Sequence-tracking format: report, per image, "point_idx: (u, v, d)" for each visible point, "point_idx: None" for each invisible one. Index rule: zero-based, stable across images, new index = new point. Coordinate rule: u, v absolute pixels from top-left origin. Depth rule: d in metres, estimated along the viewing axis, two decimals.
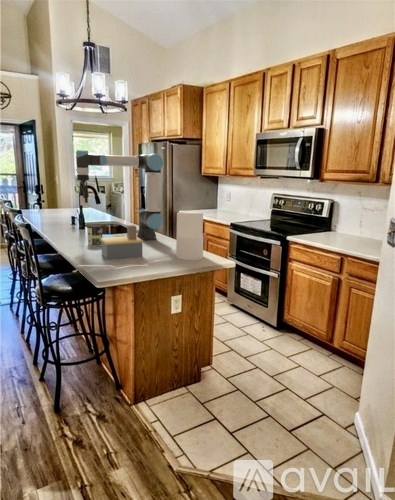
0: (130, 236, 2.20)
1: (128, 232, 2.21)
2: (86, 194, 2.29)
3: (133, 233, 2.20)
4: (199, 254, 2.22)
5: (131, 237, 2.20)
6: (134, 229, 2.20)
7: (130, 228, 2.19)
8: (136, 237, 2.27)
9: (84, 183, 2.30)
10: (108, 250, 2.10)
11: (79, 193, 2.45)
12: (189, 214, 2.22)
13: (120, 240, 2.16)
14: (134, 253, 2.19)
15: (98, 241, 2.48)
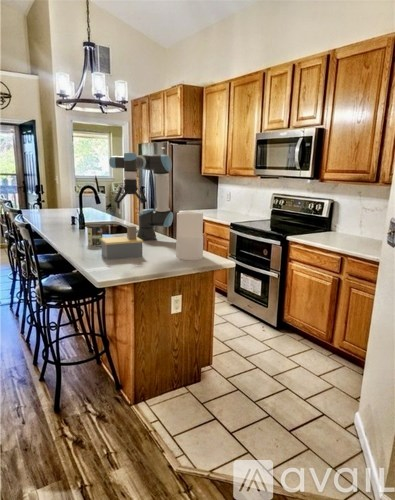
0: (130, 236, 2.20)
1: (128, 232, 2.21)
2: None
3: (133, 233, 2.20)
4: (199, 254, 2.22)
5: (131, 237, 2.20)
6: (134, 229, 2.20)
7: (130, 228, 2.19)
8: (136, 237, 2.27)
9: (119, 188, 2.13)
10: (108, 250, 2.10)
11: None
12: (189, 214, 2.22)
13: (120, 240, 2.16)
14: (134, 253, 2.19)
15: (98, 241, 2.48)
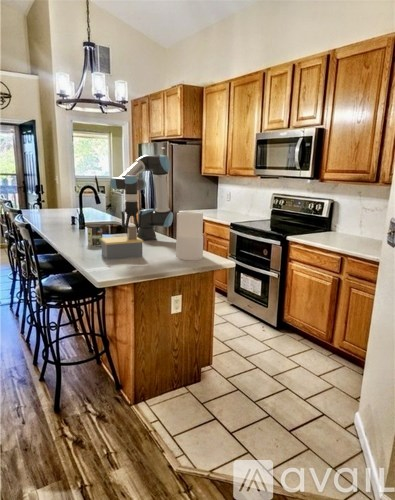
0: (130, 236, 2.20)
1: None
2: (122, 225, 2.18)
3: (133, 233, 2.20)
4: (199, 254, 2.22)
5: (131, 237, 2.20)
6: (134, 229, 2.20)
7: (130, 228, 2.19)
8: None
9: (121, 213, 2.17)
10: (108, 250, 2.10)
11: None
12: (189, 214, 2.22)
13: (120, 240, 2.16)
14: (134, 253, 2.19)
15: (98, 241, 2.48)
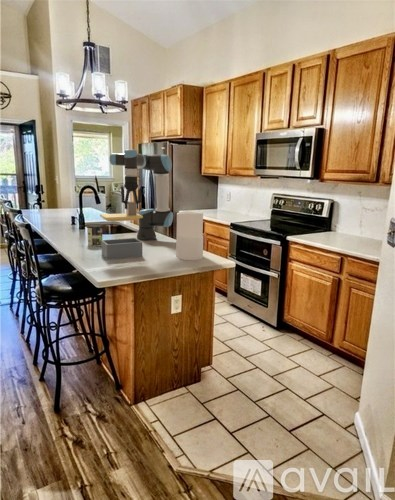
0: (130, 212, 2.16)
1: None
2: (121, 200, 2.15)
3: (133, 209, 2.17)
4: (199, 254, 2.22)
5: (131, 213, 2.17)
6: (134, 205, 2.17)
7: (130, 204, 2.15)
8: None
9: (120, 188, 2.13)
10: (108, 250, 2.10)
11: None
12: (189, 214, 2.22)
13: (120, 215, 2.13)
14: (134, 253, 2.19)
15: (98, 241, 2.48)
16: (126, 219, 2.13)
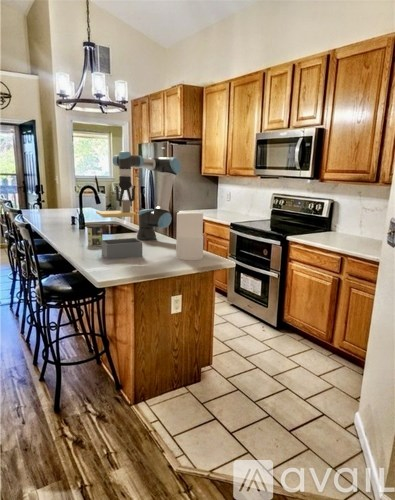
0: (124, 209, 2.34)
1: None
2: (116, 198, 2.32)
3: (127, 206, 2.34)
4: (199, 254, 2.22)
5: (125, 210, 2.34)
6: (128, 202, 2.34)
7: (124, 201, 2.32)
8: None
9: (115, 187, 2.31)
10: (108, 250, 2.10)
11: None
12: (189, 214, 2.22)
13: (114, 212, 2.30)
14: (134, 253, 2.19)
15: (98, 241, 2.48)
16: (120, 216, 2.30)
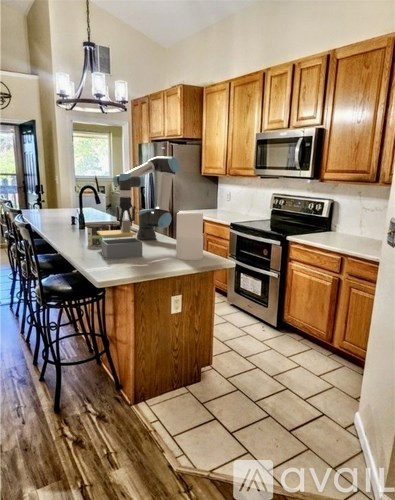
0: (124, 229, 2.37)
1: None
2: (117, 219, 2.35)
3: (127, 226, 2.37)
4: (199, 254, 2.22)
5: (125, 230, 2.37)
6: (128, 223, 2.37)
7: (124, 222, 2.35)
8: None
9: (115, 207, 2.34)
10: (108, 250, 2.10)
11: None
12: (189, 214, 2.22)
13: (115, 233, 2.33)
14: (134, 253, 2.19)
15: (98, 241, 2.48)
16: (120, 236, 2.33)
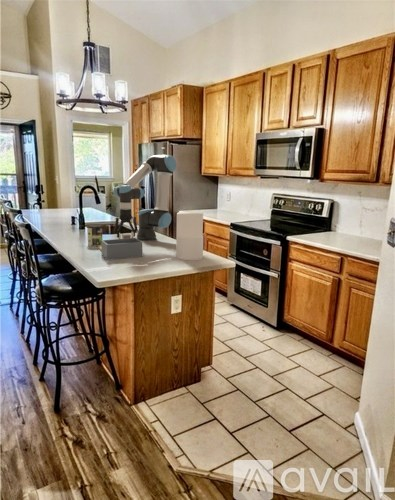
0: None
1: None
2: (114, 229, 2.36)
3: None
4: (199, 254, 2.22)
5: None
6: (128, 237, 2.39)
7: (125, 236, 2.38)
8: None
9: (115, 218, 2.35)
10: (108, 250, 2.10)
11: None
12: (189, 214, 2.22)
13: None
14: (134, 253, 2.19)
15: (98, 241, 2.48)
16: None
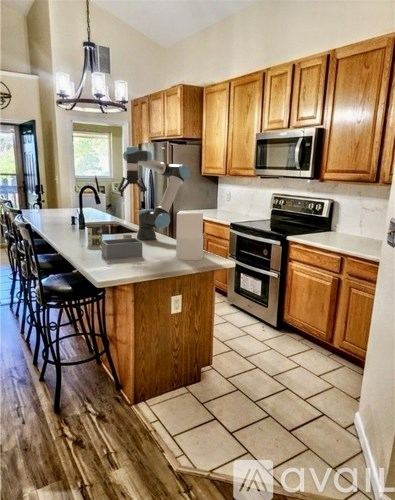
0: None
1: None
2: (118, 188, 2.39)
3: None
4: (199, 254, 2.22)
5: None
6: (129, 237, 2.39)
7: (126, 236, 2.38)
8: None
9: (122, 178, 2.39)
10: (108, 250, 2.10)
11: None
12: (189, 214, 2.22)
13: None
14: (134, 253, 2.19)
15: (98, 241, 2.48)
16: None
